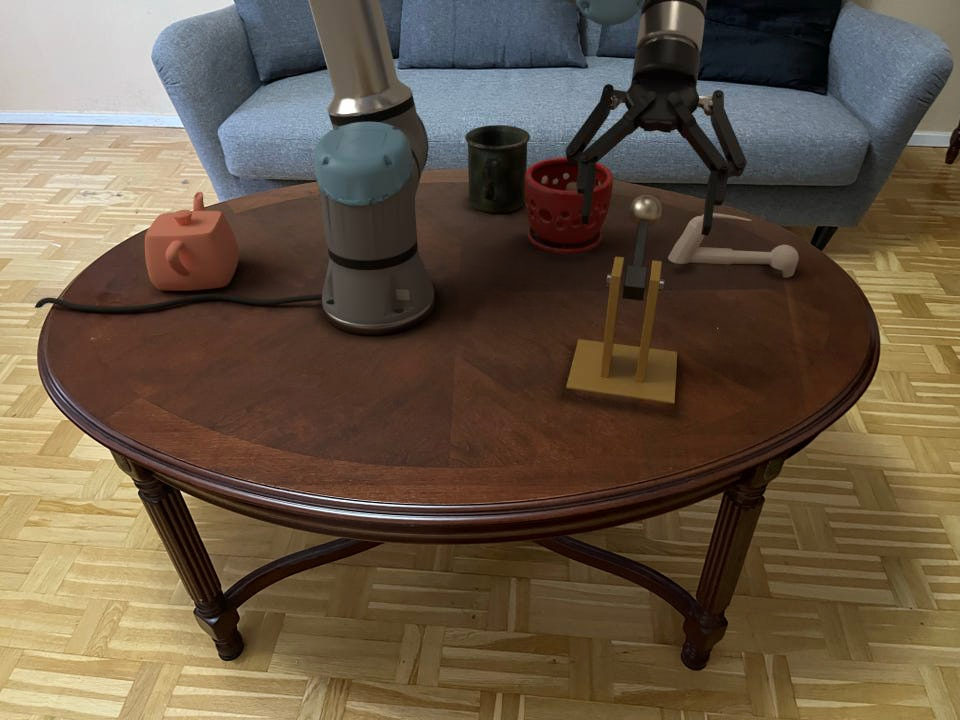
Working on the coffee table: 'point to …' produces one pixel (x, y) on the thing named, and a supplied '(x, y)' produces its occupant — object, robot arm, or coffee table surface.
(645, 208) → the black lever with ball
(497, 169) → the mug
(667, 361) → the yellow post stand
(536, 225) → the flower pot
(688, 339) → the coffee table surface
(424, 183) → the coffee table surface
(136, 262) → the coffee table surface
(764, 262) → the faucet
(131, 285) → the coffee table surface
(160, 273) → the teapot
